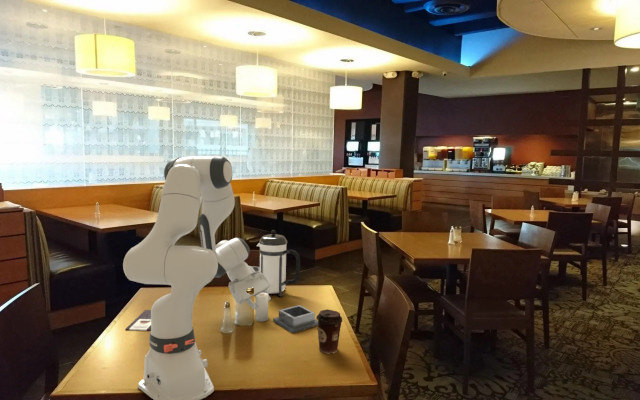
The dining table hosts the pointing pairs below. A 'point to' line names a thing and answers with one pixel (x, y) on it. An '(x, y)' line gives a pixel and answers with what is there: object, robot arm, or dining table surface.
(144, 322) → the chocolate bar
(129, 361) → the dining table surface
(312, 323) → the roll stand
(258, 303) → the paper roll
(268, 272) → the coffee press
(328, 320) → the coffee cup
